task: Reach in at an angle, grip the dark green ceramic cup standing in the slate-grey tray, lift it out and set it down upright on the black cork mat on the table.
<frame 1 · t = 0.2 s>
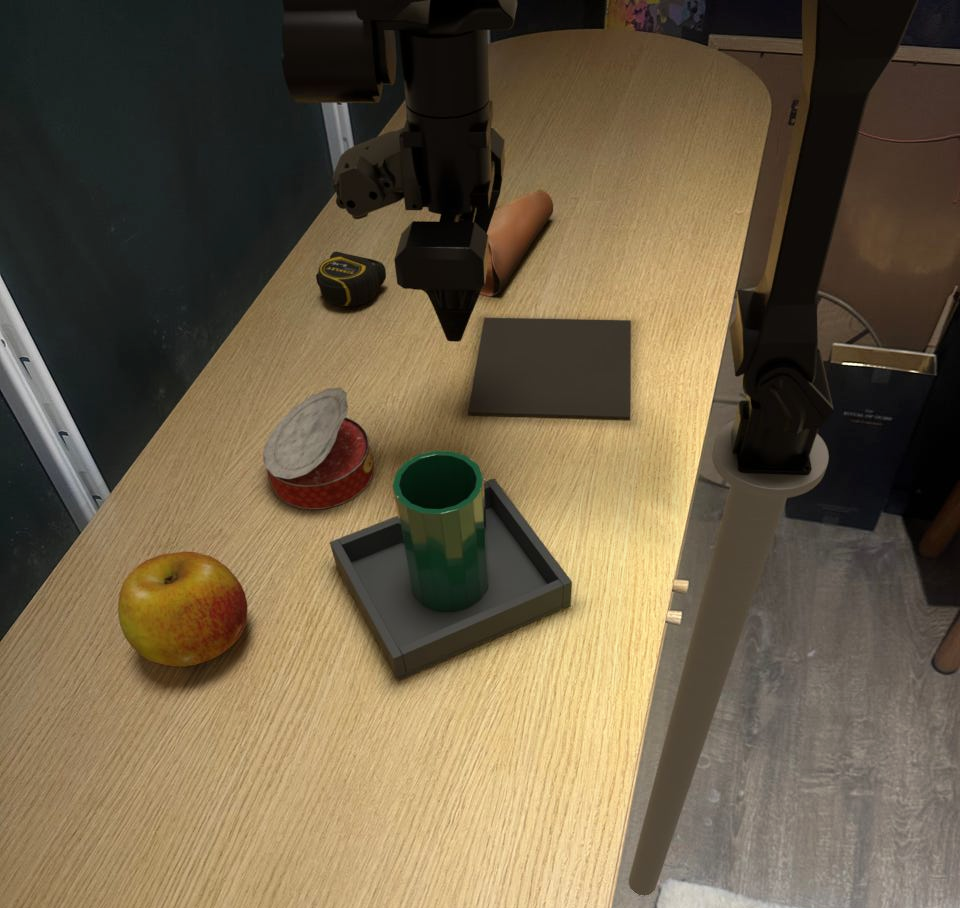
hand: (460, 306, 71), 15 cm above the table, tool pointing down, fingers open, 9 cm apart
fruit: (200, 640, 70), on the table
cup: (444, 537, 67), in the tray
tray: (450, 585, 72), on the table
tape measure: (352, 294, 99), on the table
canned food: (322, 474, 81), on the table
mat: (552, 367, 89), on the table
sunglasses case: (497, 254, 103), on the table
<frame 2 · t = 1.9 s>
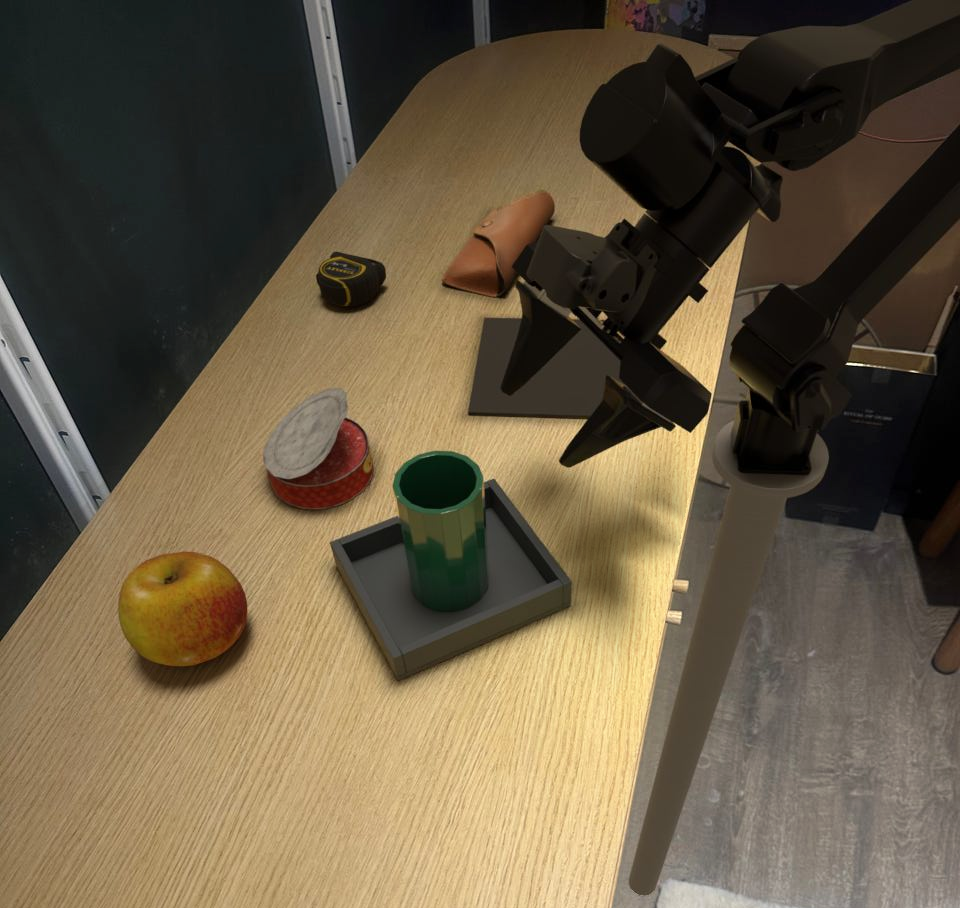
hand: (533, 427, 63), 13 cm above the table, tool tilted 45°, fingers open, 9 cm apart
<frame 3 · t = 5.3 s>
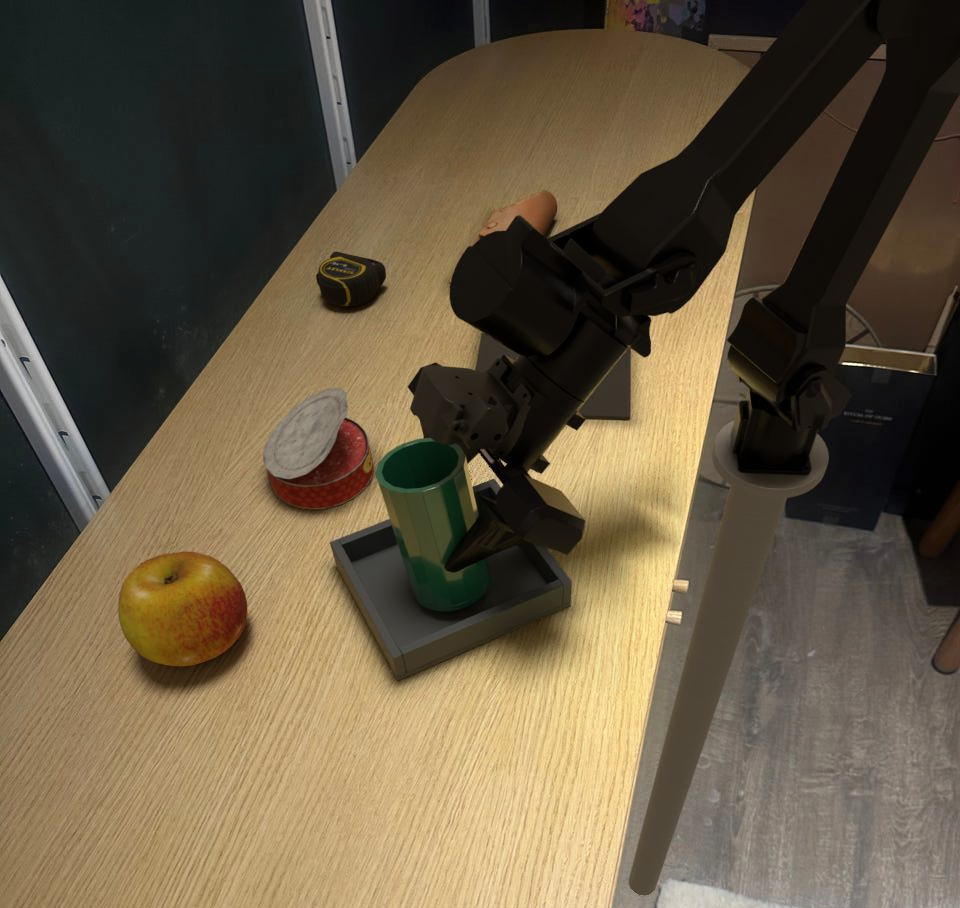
hand: (428, 538, 67), 6 cm above the table, tool tilted 45°, fingers closed on cup, 7 cm apart
cup: (437, 527, 66), in the tray, point 7 cm above the table, tilted 10°, touching gripper
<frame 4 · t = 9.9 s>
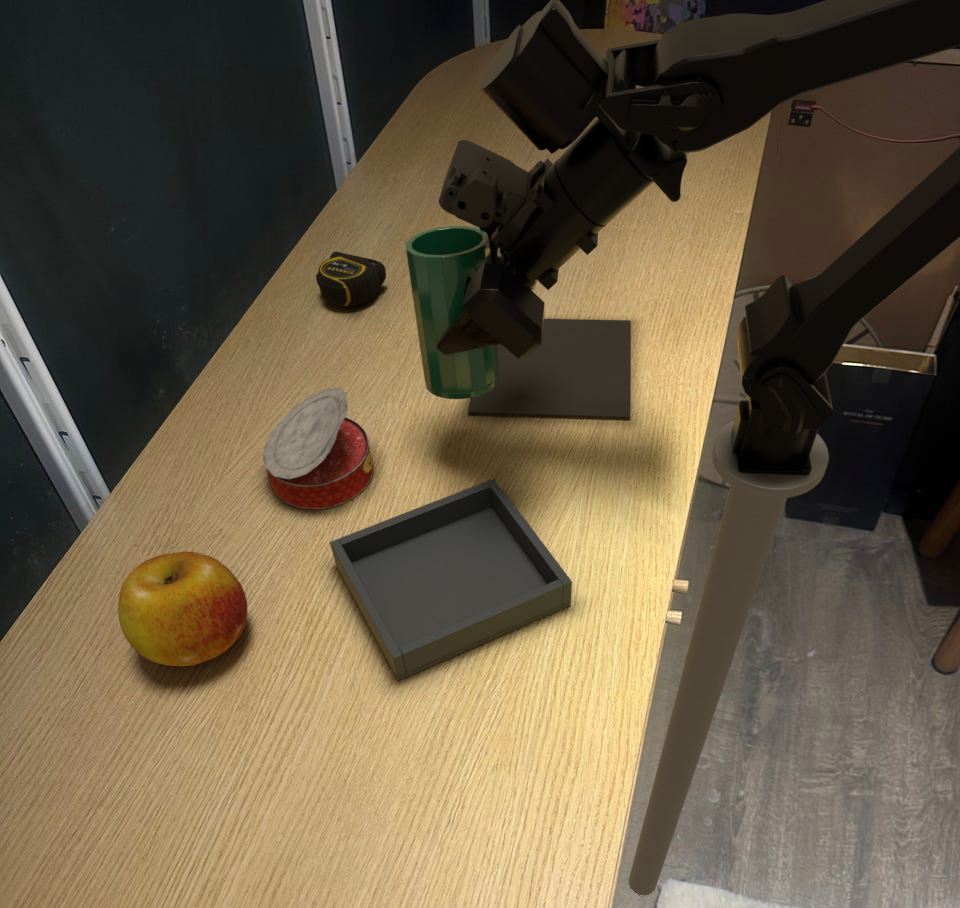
hand: (446, 323, 72), 13 cm above the table, tool tilted 45°, fingers closed on cup, 7 cm apart
cup: (455, 315, 72), point 14 cm above the table, tilted 10°, touching gripper
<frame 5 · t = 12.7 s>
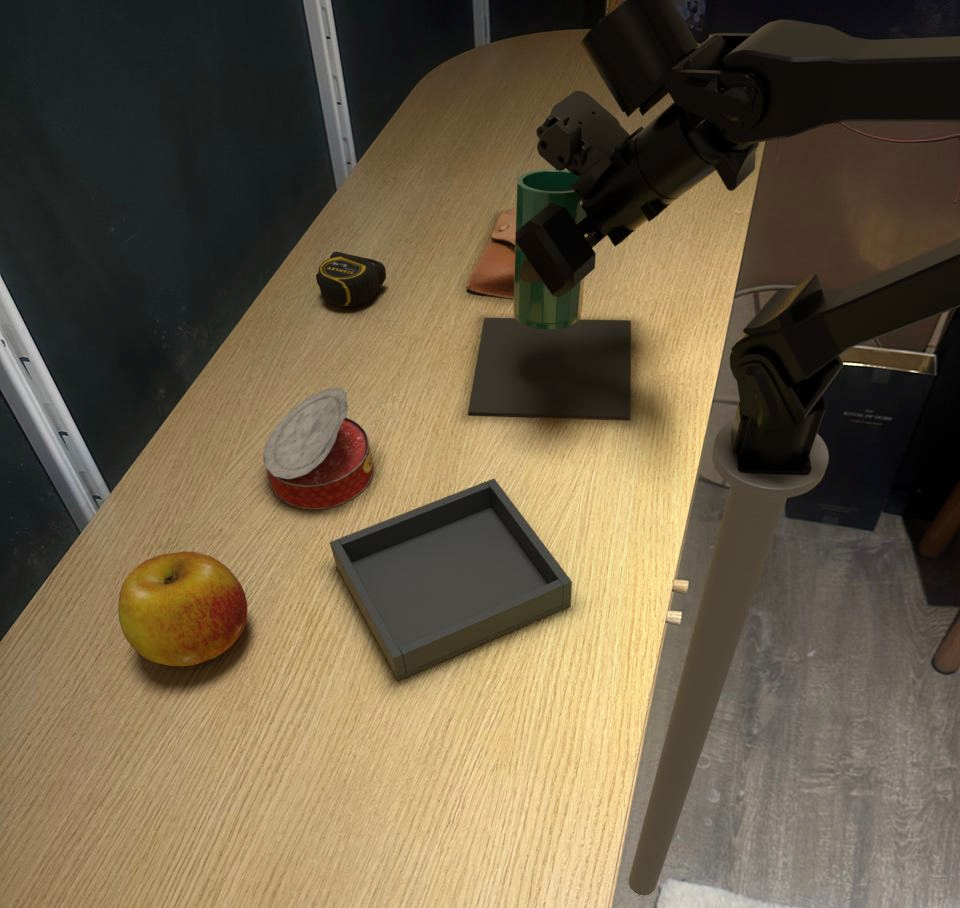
hand: (543, 257, 80), 12 cm above the table, tool tilted 45°, fingers closed on cup, 7 cm apart
cup: (550, 251, 79), point 12 cm above the table, tilted 10°, touching gripper
when the fingers open (6 cm above the table, at t = 15.0 s): cup moves 1 cm, resting on mat.
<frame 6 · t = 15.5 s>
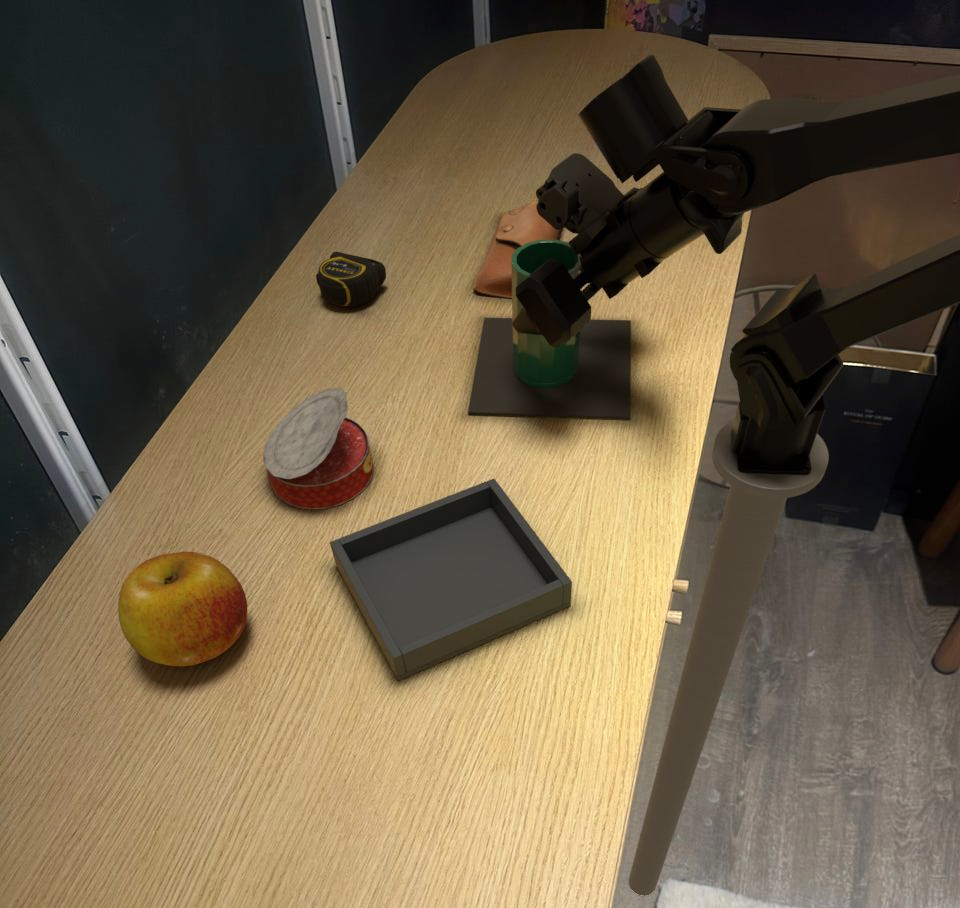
hand: (541, 304, 84), 7 cm above the table, tool tilted 45°, fingers open, 9 cm apart
cup: (546, 316, 83), on the mat
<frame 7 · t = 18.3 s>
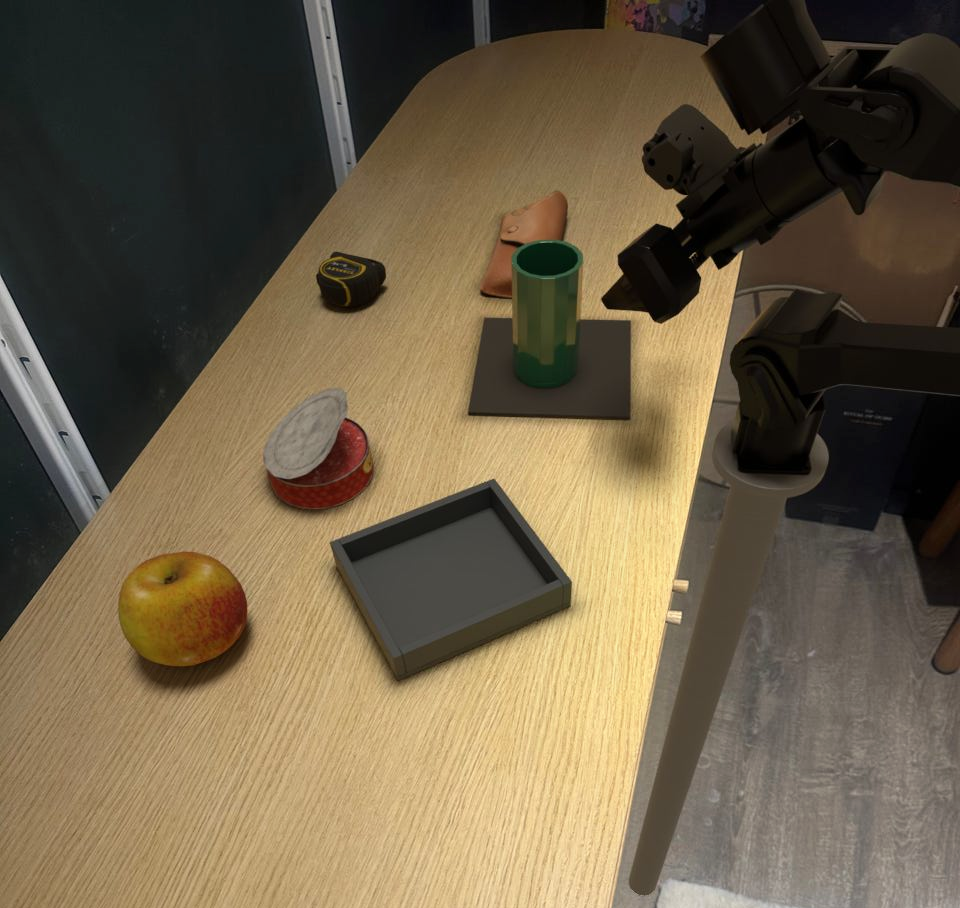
hand: (631, 278, 76), 13 cm above the table, tool tilted 45°, fingers open, 9 cm apart
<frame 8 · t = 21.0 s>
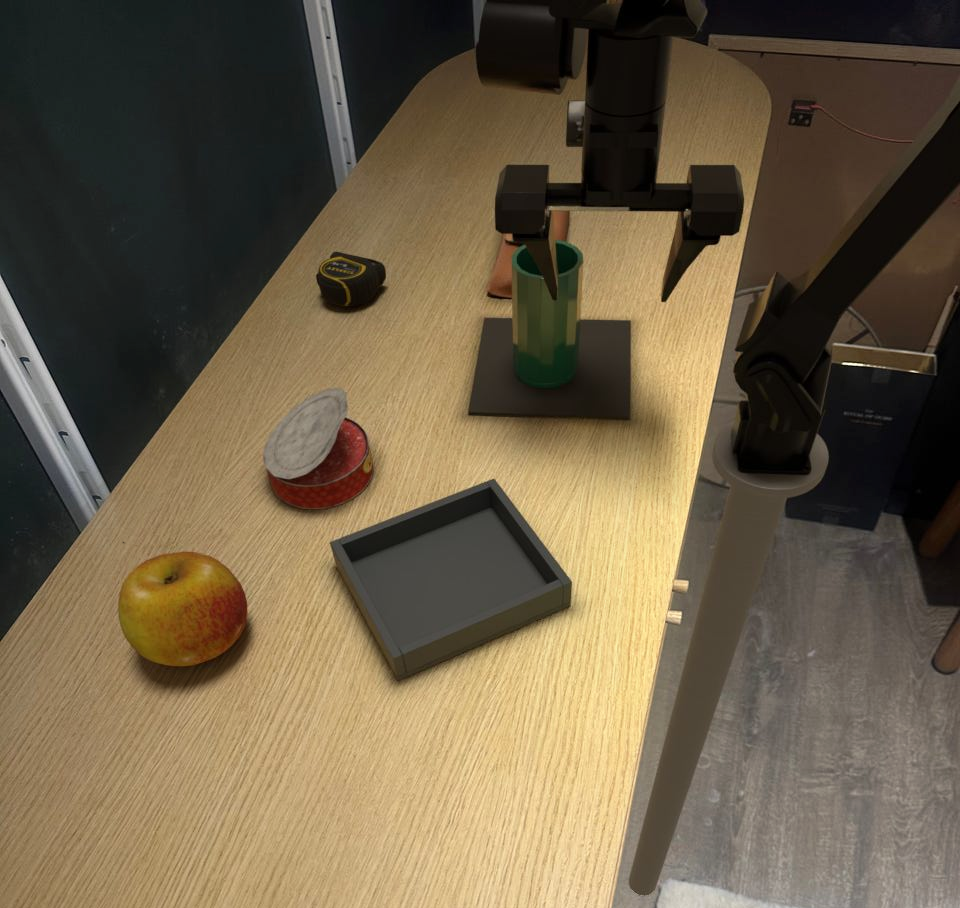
hand: (608, 298, 73), 13 cm above the table, tool pointing down, fingers open, 9 cm apart
at the end: cup inside the target area on the mat (1.1 cm from its centre), point 6.4 cm above the mat's base; cup tilted 0°; cup touching mat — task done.
